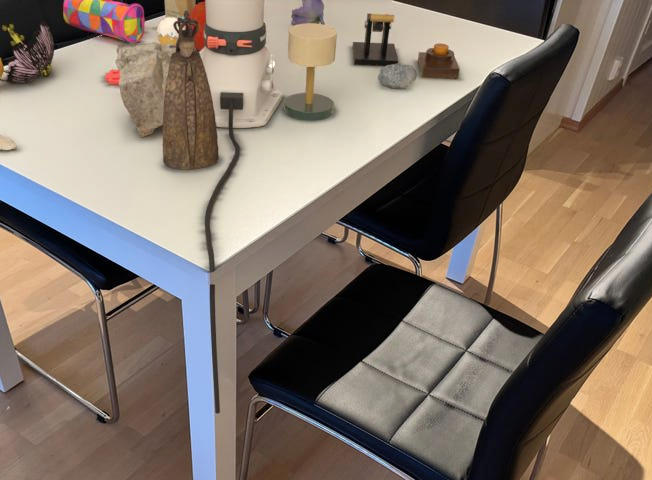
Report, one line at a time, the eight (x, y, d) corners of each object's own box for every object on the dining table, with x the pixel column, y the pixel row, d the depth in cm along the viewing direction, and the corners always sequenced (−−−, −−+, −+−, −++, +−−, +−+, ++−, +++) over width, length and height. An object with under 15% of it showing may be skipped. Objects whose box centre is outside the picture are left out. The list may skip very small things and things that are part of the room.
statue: (188, 177, 115) (177, 17, 98) (158, 163, 118) (141, 6, 101) (224, 160, 120) (219, 5, 103) (194, 147, 123) (184, -5, 106)
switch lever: (393, 24, 147) (394, 11, 147) (370, 23, 147) (371, 10, 147) (387, 32, 158) (388, 20, 157) (366, 31, 158) (366, 19, 157)
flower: (344, 3, 170) (311, -21, 169) (327, 26, 167) (293, 1, 166) (333, 28, 178) (301, 5, 178) (316, 50, 176) (284, 27, 175)
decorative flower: (71, 57, 137) (70, 36, 148) (20, 13, 130) (23, -6, 141) (27, 110, 141) (29, 86, 152) (-25, 69, 134) (-19, 47, 145)
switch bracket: (397, 66, 157) (403, 25, 151) (354, 64, 157) (357, 23, 151) (393, 49, 166) (398, 9, 160) (352, 47, 166) (356, 8, 160)
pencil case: (61, -20, 163) (90, -12, 170) (56, 22, 167) (85, 28, 174) (126, 0, 154) (153, 7, 162) (119, 44, 158) (147, 49, 165)
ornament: (150, 42, 155) (157, 5, 154) (160, 51, 162) (166, 16, 161) (179, 48, 155) (186, 11, 153) (187, 57, 162) (193, 22, 160)
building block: (105, 86, 143) (106, 72, 148) (144, 85, 144) (144, 71, 150) (104, 82, 142) (106, 68, 148) (143, 81, 143) (143, 67, 149)
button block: (457, 79, 152) (461, 60, 149) (422, 77, 152) (425, 58, 149) (451, 63, 160) (455, 45, 157) (417, 61, 160) (420, 43, 157)
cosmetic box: (166, 41, 165) (161, -16, 156) (175, 35, 168) (171, -20, 159) (190, 45, 163) (186, -12, 155) (198, 39, 166) (195, -16, 158)
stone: (88, 44, 122) (127, 74, 114) (172, 30, 130) (214, 57, 122) (98, 115, 131) (134, 147, 123) (175, 98, 139) (215, 127, 131)
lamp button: (448, 56, 152) (449, 48, 151) (433, 56, 152) (435, 47, 151) (446, 51, 155) (447, 43, 153) (432, 51, 155) (433, 43, 153)
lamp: (333, 121, 133) (340, 40, 123) (282, 119, 133) (284, 38, 123) (333, 101, 141) (339, 23, 130) (284, 99, 141) (287, 21, 130)
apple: (180, 52, 158) (176, 2, 151) (204, 39, 166) (202, -9, 158) (220, 61, 155) (218, 10, 148) (243, 47, 162) (243, -2, 155)
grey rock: (416, 87, 148) (416, 62, 146) (418, 87, 145) (418, 61, 143) (377, 89, 149) (377, 65, 147) (378, 90, 146) (378, 64, 144)
